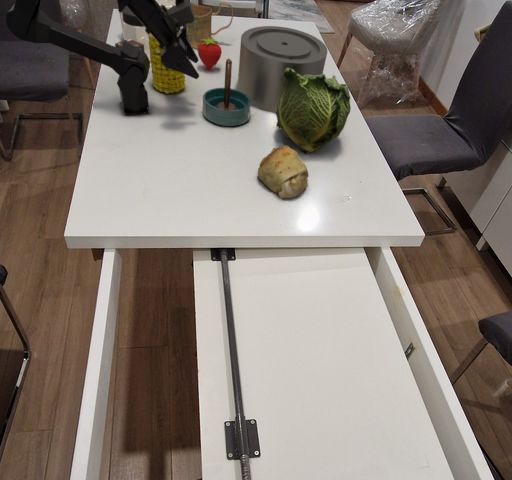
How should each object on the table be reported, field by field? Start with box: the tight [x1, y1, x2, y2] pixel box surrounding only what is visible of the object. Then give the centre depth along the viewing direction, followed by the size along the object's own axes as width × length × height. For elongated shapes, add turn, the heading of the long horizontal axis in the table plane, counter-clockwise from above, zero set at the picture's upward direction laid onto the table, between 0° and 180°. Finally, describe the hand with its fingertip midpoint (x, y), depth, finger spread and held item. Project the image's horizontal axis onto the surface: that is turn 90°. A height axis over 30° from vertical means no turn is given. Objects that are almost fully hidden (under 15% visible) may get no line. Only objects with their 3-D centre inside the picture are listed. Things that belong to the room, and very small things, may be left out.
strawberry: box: [196, 35, 223, 71], centre depth 131 cm, size 6×8×10 cm
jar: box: [122, 7, 151, 62], centre depth 130 cm, size 9×8×12 cm
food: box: [148, 33, 186, 95], centre depth 120 cm, size 15×12×10 cm
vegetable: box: [275, 68, 352, 155], centre depth 109 cm, size 20×19×20 cm
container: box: [236, 25, 328, 114], centre depth 126 cm, size 25×25×13 cm
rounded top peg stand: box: [217, 58, 235, 110], centre depth 114 cm, size 5×5×14 cm
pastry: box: [257, 145, 309, 200], centre depth 101 cm, size 14×12×8 cm
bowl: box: [202, 87, 252, 127], centre depth 118 cm, size 13×13×4 cm
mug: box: [186, 1, 234, 50], centre depth 142 cm, size 12×18×12 cm, turn 89°
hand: (197, 69), depth 109 cm, fingers open, 9 cm apart
